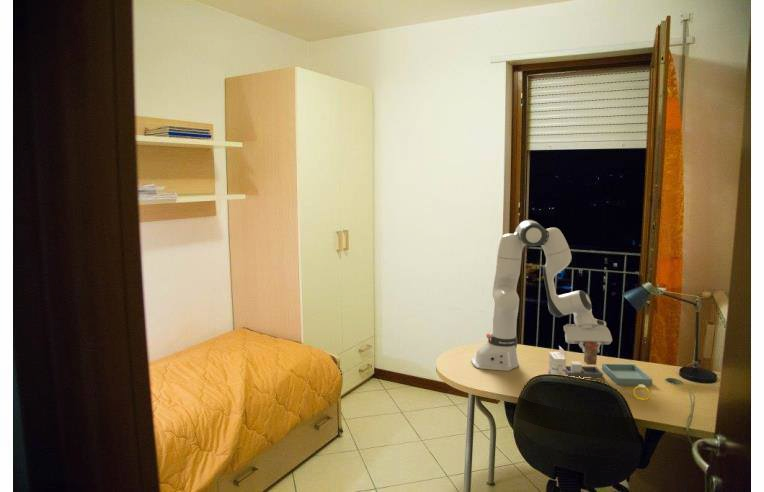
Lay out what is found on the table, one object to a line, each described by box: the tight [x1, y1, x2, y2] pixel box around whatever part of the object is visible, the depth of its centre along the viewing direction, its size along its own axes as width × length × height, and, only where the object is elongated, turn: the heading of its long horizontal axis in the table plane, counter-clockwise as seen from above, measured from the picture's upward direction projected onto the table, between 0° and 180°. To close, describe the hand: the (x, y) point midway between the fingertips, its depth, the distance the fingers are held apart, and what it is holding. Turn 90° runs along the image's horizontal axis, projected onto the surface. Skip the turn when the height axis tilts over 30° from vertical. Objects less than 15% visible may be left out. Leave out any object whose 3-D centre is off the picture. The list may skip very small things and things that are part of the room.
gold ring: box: [632, 384, 651, 401], centre depth 193 cm, size 6×3×6 cm, turn 57°
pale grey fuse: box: [570, 360, 583, 373], centre depth 216 cm, size 4×4×6 cm
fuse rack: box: [565, 365, 604, 379], centre depth 217 cm, size 15×8×2 cm, turn 86°
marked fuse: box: [583, 342, 598, 366], centre depth 215 cm, size 4×4×9 cm
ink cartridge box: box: [547, 345, 567, 376], centre depth 211 cm, size 9×5×15 cm, turn 179°
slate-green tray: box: [601, 363, 653, 387], centre depth 213 cm, size 15×17×3 cm
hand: (591, 352), depth 214 cm, fingers closed on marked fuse, 4 cm apart
